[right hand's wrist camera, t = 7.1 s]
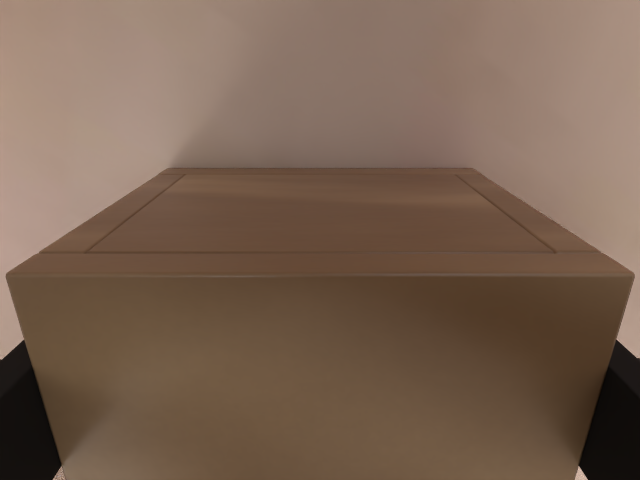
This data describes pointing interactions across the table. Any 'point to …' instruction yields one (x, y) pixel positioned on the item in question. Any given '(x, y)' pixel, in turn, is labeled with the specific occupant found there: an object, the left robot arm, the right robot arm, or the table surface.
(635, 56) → the table surface
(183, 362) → the cabinet
